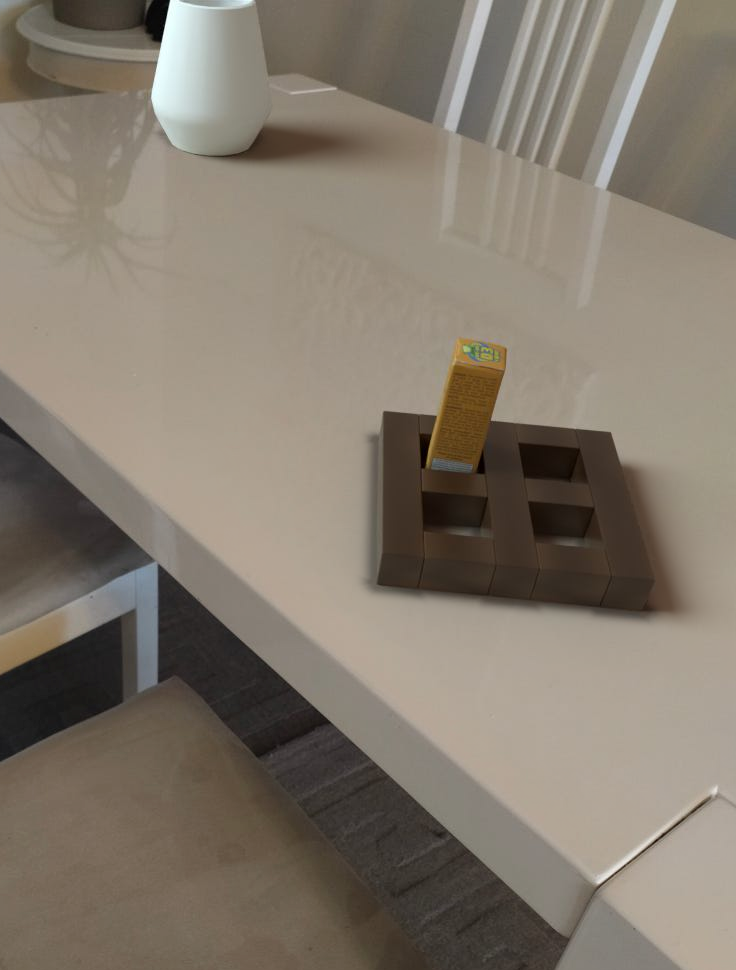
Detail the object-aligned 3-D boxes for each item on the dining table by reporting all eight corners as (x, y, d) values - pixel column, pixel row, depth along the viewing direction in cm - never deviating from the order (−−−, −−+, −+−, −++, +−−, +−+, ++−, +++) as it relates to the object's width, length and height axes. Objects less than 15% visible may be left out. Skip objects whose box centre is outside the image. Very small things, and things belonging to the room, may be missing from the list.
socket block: (598, 469, 67) (611, 431, 65) (638, 619, 56) (655, 580, 54) (377, 448, 67) (383, 410, 65) (374, 592, 57) (381, 553, 54)
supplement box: (471, 510, 63) (507, 369, 56) (418, 501, 63) (447, 361, 56) (473, 481, 65) (508, 343, 58) (422, 473, 65) (450, 334, 58)
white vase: (127, 136, 110) (121, -9, 101) (217, 115, 117) (220, -22, 107) (204, 171, 104) (205, 19, 94) (294, 147, 110) (304, 3, 101)
